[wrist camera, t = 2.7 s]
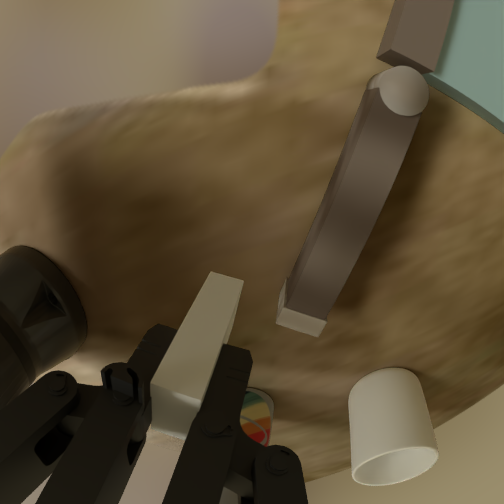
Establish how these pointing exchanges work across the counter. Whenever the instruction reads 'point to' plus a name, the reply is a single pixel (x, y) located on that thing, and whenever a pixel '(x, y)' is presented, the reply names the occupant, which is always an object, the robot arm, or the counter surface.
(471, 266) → the counter surface
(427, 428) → the cup
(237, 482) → the robot arm
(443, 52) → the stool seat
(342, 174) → the folding leg
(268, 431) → the lotion bottle
